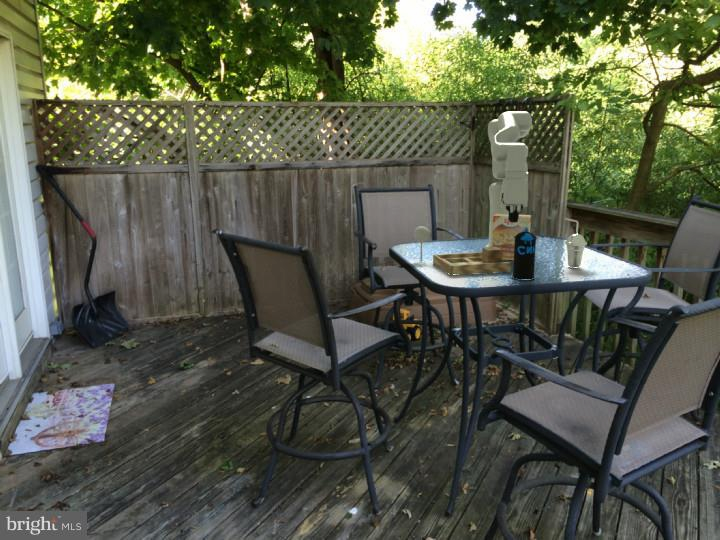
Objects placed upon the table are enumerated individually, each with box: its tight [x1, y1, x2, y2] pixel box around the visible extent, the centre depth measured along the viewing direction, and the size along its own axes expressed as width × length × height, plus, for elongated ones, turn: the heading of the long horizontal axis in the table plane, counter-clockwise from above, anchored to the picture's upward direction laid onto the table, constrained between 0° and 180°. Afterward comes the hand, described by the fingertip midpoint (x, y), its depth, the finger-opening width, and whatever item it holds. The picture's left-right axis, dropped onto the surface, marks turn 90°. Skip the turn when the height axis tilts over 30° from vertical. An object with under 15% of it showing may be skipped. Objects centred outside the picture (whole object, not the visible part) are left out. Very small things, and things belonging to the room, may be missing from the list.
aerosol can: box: [512, 226, 538, 279], centre depth 219 cm, size 8×8×20 cm
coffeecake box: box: [492, 214, 532, 261], centre depth 252 cm, size 15×7×20 cm, turn 65°
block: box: [481, 246, 503, 263], centre depth 235 cm, size 6×6×6 cm
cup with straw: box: [564, 217, 588, 267], centre depth 235 cm, size 8×9×20 cm
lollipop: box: [413, 225, 431, 261], centre depth 253 cm, size 7×7×15 cm
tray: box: [432, 251, 512, 276], centre depth 238 cm, size 25×22×4 cm
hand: (513, 221), depth 233 cm, fingers closed
